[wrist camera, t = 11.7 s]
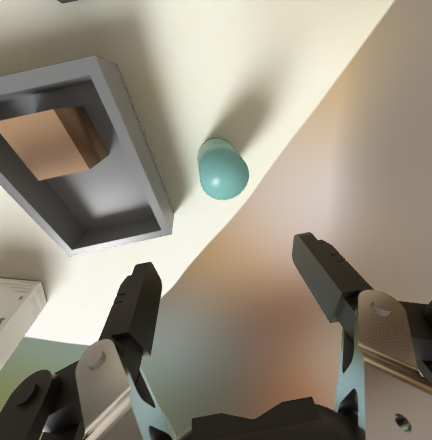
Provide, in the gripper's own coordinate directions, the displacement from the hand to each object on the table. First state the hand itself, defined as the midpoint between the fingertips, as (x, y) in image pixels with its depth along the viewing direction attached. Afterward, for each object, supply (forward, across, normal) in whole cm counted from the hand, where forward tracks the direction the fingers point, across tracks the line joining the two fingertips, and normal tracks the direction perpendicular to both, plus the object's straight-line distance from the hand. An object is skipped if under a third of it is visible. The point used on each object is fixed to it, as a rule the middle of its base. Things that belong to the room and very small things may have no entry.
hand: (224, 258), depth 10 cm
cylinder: (+17, -2, -1) cm, 17 cm away
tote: (+17, +14, -2) cm, 22 cm away
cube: (+16, +14, -6) cm, 22 cm away
